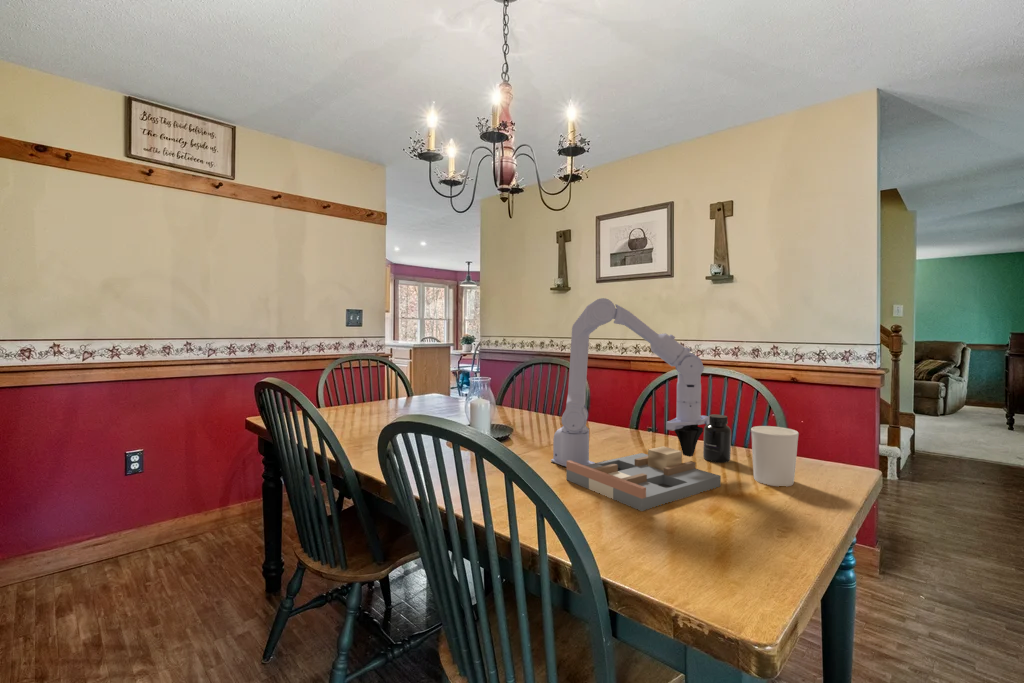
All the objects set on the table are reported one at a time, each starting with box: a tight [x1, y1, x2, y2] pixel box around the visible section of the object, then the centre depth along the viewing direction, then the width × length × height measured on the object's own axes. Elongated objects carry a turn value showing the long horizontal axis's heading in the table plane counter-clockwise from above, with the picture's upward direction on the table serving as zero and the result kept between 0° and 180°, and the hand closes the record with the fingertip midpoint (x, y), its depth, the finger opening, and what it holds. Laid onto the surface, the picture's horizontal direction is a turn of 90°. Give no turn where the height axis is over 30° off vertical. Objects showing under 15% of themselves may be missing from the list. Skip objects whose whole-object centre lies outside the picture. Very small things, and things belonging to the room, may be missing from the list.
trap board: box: [565, 452, 722, 512], centre depth 112 cm, size 23×26×4 cm
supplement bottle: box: [702, 414, 732, 464], centre depth 131 cm, size 7×7×12 cm
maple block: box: [647, 446, 683, 471], centre depth 116 cm, size 6×6×4 cm
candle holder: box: [750, 425, 800, 487], centre depth 113 cm, size 10×10×12 cm
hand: (687, 455), depth 121 cm, fingers closed
